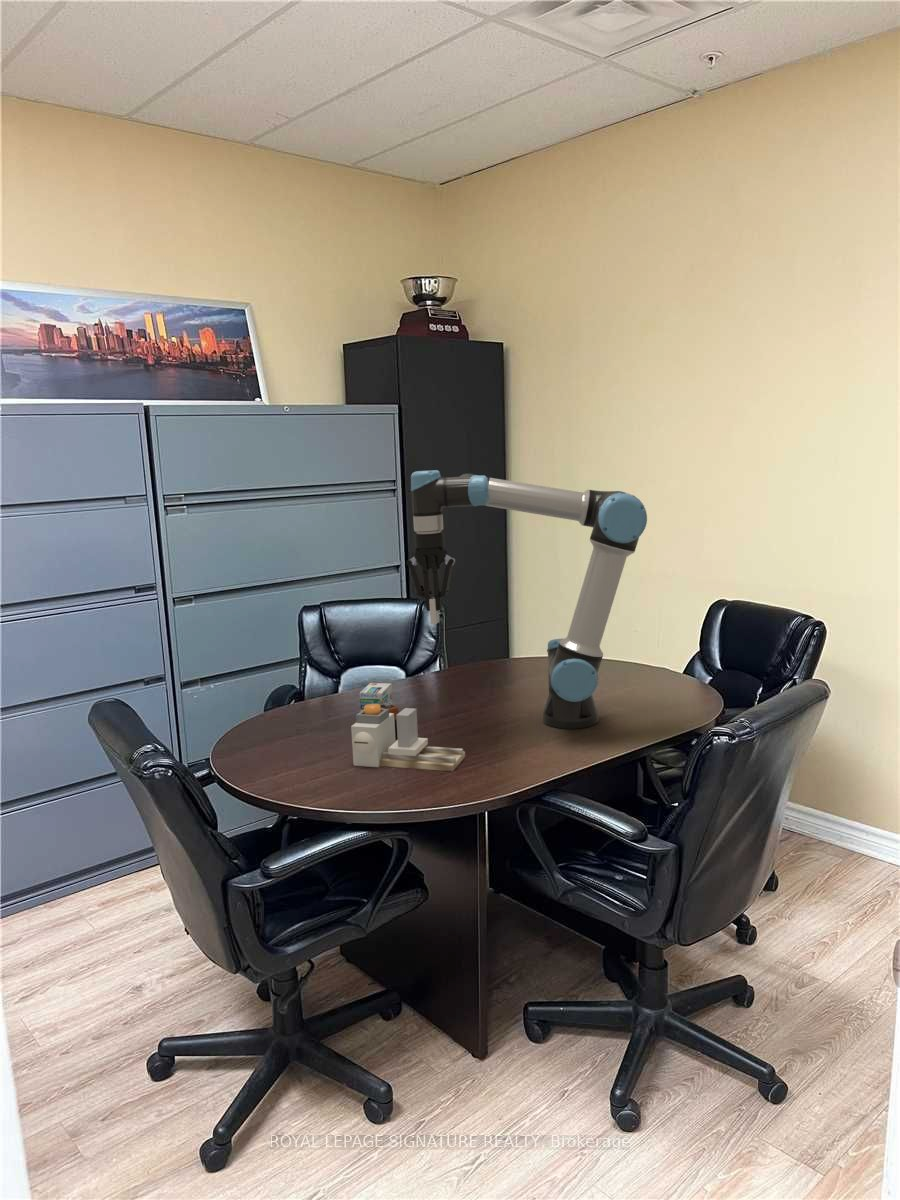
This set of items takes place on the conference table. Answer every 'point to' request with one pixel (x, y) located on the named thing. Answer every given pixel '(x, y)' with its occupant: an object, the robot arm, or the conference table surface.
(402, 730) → the carriage
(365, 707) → the button
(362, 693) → the light bulb box
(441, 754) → the rail bed
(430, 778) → the conference table surface
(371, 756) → the cabinet
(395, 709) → the battery
